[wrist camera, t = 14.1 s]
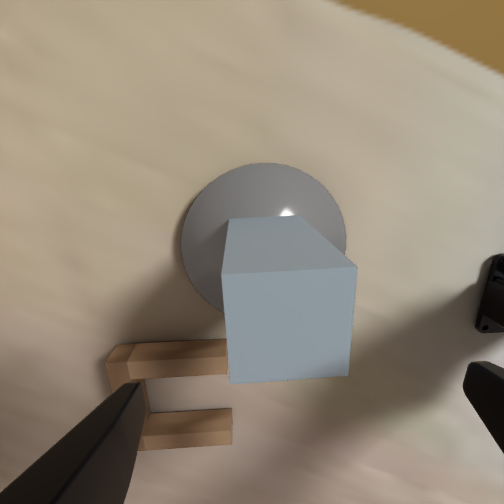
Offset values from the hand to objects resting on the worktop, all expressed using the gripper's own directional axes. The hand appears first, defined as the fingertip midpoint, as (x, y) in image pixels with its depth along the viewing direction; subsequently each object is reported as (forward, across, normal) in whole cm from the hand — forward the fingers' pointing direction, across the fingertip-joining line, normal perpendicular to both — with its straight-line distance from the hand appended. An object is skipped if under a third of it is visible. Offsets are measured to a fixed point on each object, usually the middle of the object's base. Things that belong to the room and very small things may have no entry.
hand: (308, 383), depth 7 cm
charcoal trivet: (+12, 0, 0) cm, 12 cm away
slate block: (+11, 0, 0) cm, 11 cm away
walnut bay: (+12, +7, +11) cm, 18 cm away
